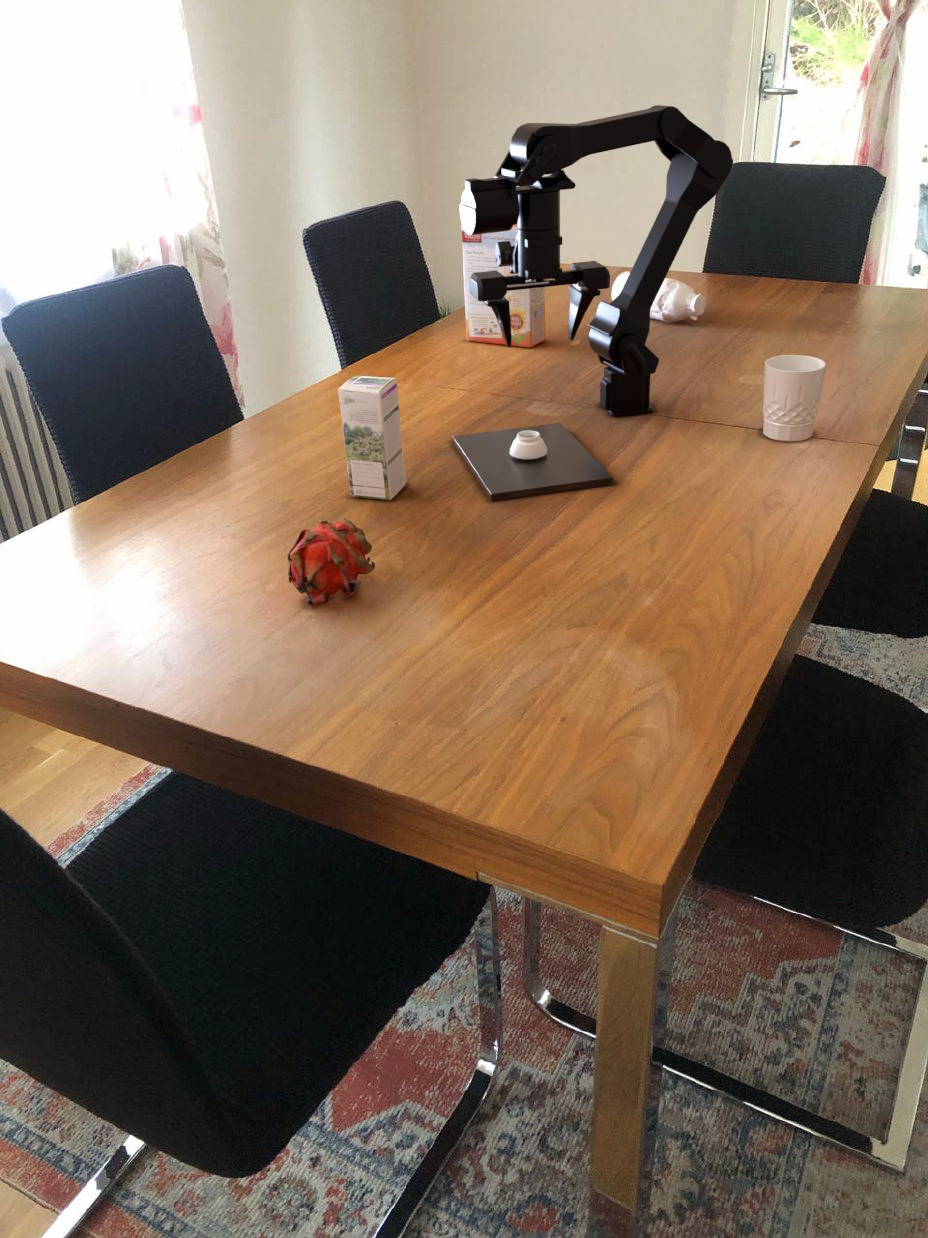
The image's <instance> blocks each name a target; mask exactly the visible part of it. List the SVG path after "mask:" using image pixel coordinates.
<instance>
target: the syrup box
mask: <svg viewBox="0 0 928 1238" xmlns="http://www.w3.org/2000/svg"><path fill="white" fill-rule="evenodd" d="M398 387H399V385H398V379H397V378H396V377H387V376H386V377H384V376H367V375H355V376H353V377H351V378H349V379H348V380H347V381H345V382H344V383H343V384H342V385H341V386H340V387H339V388H337V391H338V392H337V393H338V401H339V408H340V416H341V425H342V433H343V443H344V451H345V459H346V468H347V476H348V477H347V478H348V484H349V485H348V486H349V493H350V494H349V495H350V497H351V498H363V499H372V500H382V501H391V500H392V499H393V498H395V496H397V495H398V494H399V493H400V491H401V490H403V488H405V486H406V484H407V478H406V471H405V461H404V452H403V439H402V438H403V437H402V427H401V413H400V400H399V399H400V398H399V388H398Z"/></svg>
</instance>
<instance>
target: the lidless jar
mask: <svg viewBox="0 0 928 1238" xmlns="http://www.w3.org/2000/svg"><path fill="white" fill-rule="evenodd" d="M510 454H511V456H513V457H515V458H518V459H522V460H533V459H538V458H541V457H543V456H545V455H546V454H547V447H546V445H545V443H544V441H543V439H542V438H541V437H540V434H539V433H538V432H536V431H522V432H519V433H518V434H517V438H516V439H514V442H513V444H512V446H511V448H510Z"/></svg>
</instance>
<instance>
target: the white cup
mask: <svg viewBox="0 0 928 1238" xmlns="http://www.w3.org/2000/svg"><path fill="white" fill-rule="evenodd" d="M826 367H827V363H826V362H825V361H824V360H823V359H821V358H818V357H815V356H810V355H803V354H783V355H776V356H772V357H769V358H767V359H766V360H765V361H764V371H763V372H764V373H763V374H764V375H763V389H762V390H763V391H762V395H763V397H762V416H763V417H762V434H763V435H764V436H765V437H767V439H768V438H769V439H770V440H771V439H772V440H775V441H779V442H802V441H805V440H808V439H810V438H811V437H813V434H814V428H815V422H816V418H817V415H818V410H819V405H820V402H821V395H822V390H823V383H824V379H825V373H826Z"/></svg>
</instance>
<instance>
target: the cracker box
mask: <svg viewBox="0 0 928 1238" xmlns="http://www.w3.org/2000/svg"><path fill="white" fill-rule="evenodd" d="M517 228H518V227H517V224H516V225H513V227H512V229H511V230H509V231H503V232H494V233H486V234H478V235H467V234H466V232H465V231H464V229H463V226H462V225H461V242H462V243H461V245H462V246H461V247H462V265H463V266H462V268H463V270H462V271H463V289H464V291H463V292H464V309H465V310H464V312H465V333H466V340H467V341H469V342H477V343H487V344H496V345H505V346H507V345H506V343H505V340H504V337H503V334H502V332H501V329H500V326H499V323H498V321H497V318H496V316H495V314H494V312H493V310H492V308H491V307H489V306H487V305H486V304H485V303H484V302H482V301H478V300H477V299H476V298H475V297H474V296H472V295H471V294H470V290H469V279H470V277H471V275H472V274H473V273H476V272H486V271H496V270H497V271H498V272H499V273H501V274H502V275H503V276H505V277H507V276H517V275H518V273H517V274H510V270H509V266H503V267H498V266H497V264H496V256H495V244H496V243H497V242H503V241H510V243H511V246H515V243H516V233H518V229H517ZM526 282H530V280H526ZM531 282H533V281H531ZM545 288H546V287H540V288H530V289H520V290H510V291H507V294H506V295H505V298H506V299H507V300H508V301H509V306H510V321H511V336H512V339H511V347H512V346H513V347H521V348H532V347H534V346H537V345H538V344H540V343H542V342H544V341H546V297H545V295H546V292H545V291H546V290H545Z"/></svg>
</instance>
